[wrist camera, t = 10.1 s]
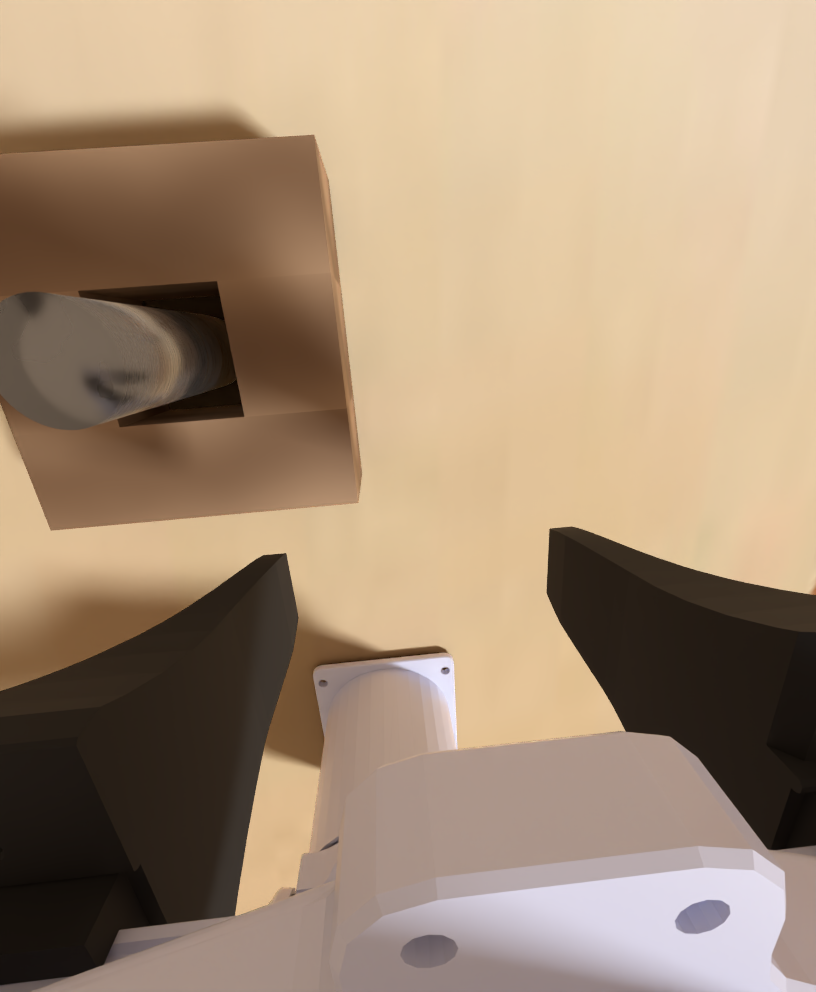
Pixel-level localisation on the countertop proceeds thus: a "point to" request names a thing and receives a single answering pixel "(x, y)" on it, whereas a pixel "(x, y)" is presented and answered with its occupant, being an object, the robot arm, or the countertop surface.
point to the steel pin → (104, 358)
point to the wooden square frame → (183, 274)
